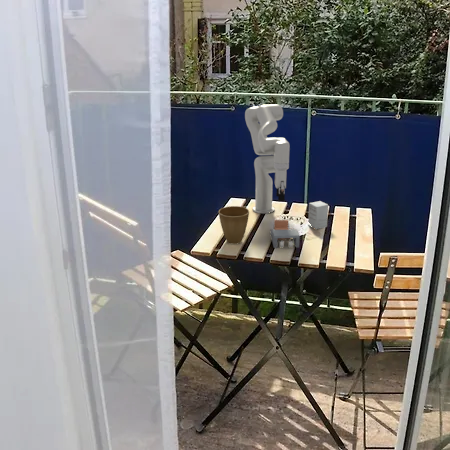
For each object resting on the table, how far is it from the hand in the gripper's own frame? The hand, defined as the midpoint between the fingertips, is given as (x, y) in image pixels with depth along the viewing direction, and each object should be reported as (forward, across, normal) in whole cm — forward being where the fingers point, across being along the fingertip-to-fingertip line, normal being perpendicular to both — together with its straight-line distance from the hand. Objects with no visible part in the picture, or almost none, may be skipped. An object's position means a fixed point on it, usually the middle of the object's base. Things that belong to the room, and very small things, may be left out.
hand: (280, 198), depth 291 cm
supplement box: (+16, 0, +20) cm, 26 cm away
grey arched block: (+16, +12, 0) cm, 20 cm away
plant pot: (+16, +19, -25) cm, 35 cm away
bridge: (+16, +19, 0) cm, 25 cm away
